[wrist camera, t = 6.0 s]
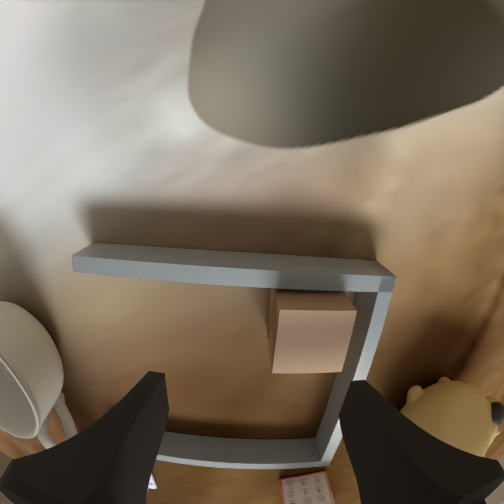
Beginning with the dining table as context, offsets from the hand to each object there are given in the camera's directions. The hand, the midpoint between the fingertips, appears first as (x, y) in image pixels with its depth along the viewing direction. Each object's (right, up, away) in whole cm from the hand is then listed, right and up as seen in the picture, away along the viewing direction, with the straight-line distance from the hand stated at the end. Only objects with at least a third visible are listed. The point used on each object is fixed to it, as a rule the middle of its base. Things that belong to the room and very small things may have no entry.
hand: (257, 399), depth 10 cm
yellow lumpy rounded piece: (+17, -9, +13) cm, 23 cm away
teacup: (-20, -4, +11) cm, 23 cm away
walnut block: (+3, +2, +9) cm, 10 cm away
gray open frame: (-3, -3, +11) cm, 12 cm away
